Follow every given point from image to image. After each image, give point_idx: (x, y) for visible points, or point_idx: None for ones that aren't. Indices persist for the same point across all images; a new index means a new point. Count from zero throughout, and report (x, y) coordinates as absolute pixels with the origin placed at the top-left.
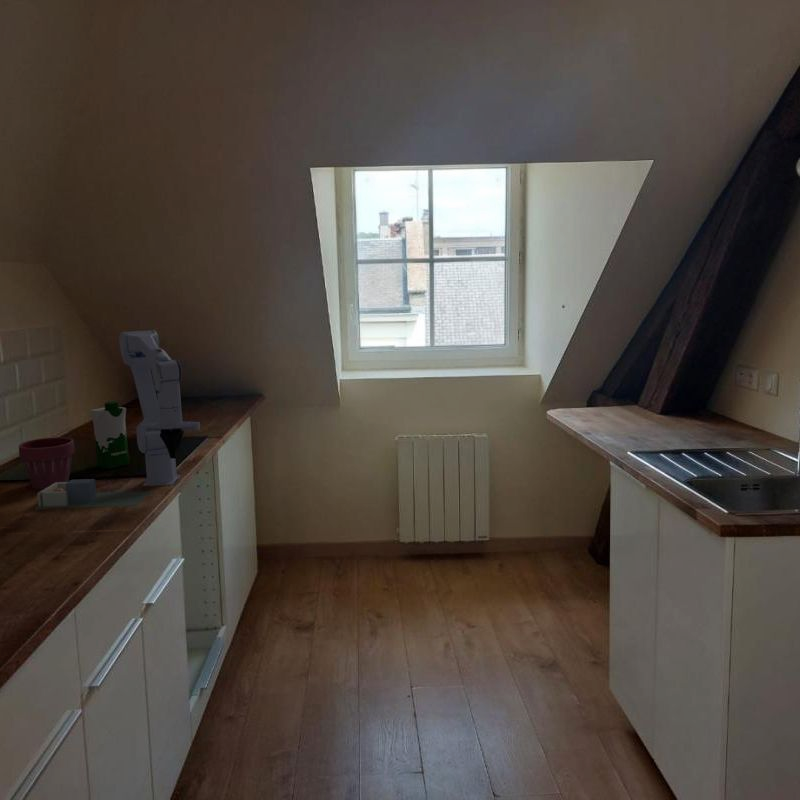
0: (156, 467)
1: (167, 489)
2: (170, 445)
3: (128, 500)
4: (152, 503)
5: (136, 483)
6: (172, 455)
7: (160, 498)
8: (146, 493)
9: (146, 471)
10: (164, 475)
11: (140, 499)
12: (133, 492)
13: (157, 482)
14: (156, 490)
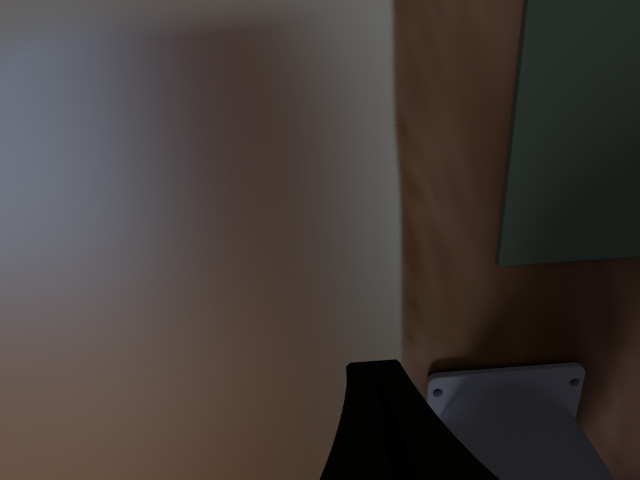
0: (541, 455)
1: (428, 319)
2: (409, 462)
3: (615, 72)
4: (439, 30)
5: (622, 417)
6: (376, 376)
7: (417, 146)
8: (528, 224)
9: (597, 453)
10: (478, 425)
11: (538, 93)
12: (611, 246)
13: (506, 385)
14: (486, 304)
